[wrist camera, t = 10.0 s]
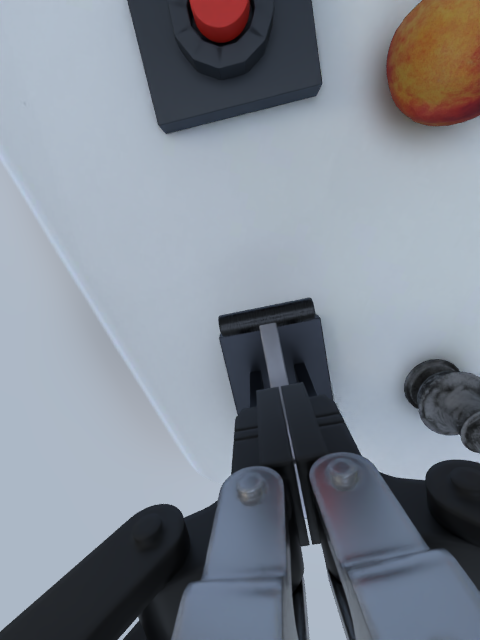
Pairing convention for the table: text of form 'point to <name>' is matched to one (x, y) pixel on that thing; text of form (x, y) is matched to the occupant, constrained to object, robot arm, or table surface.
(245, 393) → the bracket
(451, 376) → the black chess piece
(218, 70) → the control block
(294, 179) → the table surface
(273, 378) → the lever
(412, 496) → the robot arm
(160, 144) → the table surface
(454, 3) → the fruit
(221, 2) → the button
